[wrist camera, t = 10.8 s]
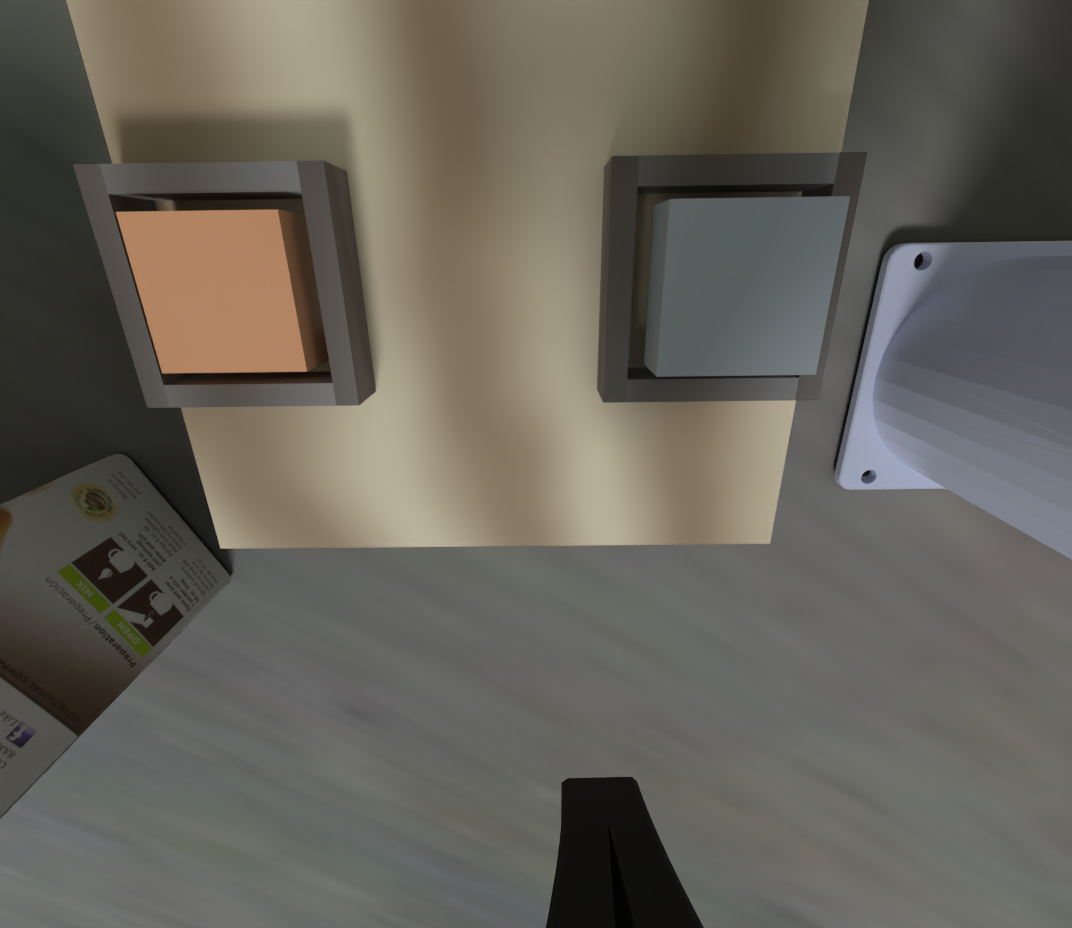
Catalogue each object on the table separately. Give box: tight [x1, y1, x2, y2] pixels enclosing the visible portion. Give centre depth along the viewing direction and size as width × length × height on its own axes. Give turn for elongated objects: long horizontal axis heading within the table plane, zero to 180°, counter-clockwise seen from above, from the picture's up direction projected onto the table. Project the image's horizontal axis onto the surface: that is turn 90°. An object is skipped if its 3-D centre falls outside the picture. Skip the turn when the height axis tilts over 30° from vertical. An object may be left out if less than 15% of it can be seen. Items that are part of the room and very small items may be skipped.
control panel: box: [66, 0, 869, 549], centre depth 13 cm, size 18×24×4 cm
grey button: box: [644, 196, 850, 377], centre depth 12 cm, size 4×4×2 cm
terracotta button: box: [116, 209, 329, 373], centre depth 13 cm, size 4×4×2 cm
